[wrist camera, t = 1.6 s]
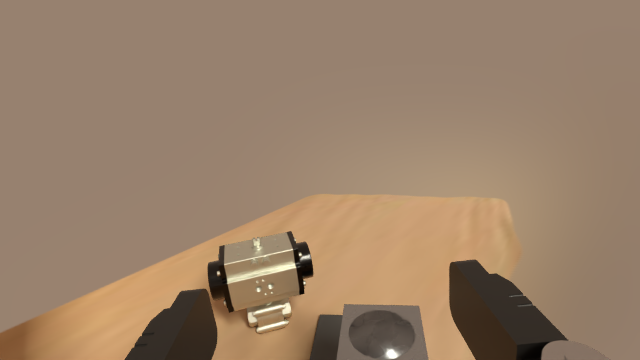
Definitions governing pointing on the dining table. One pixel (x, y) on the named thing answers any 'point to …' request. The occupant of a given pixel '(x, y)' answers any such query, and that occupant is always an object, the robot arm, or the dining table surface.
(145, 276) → the dining table surface
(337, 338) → the pad
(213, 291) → the pneumatic valve
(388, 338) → the grey column pedestal
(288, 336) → the dining table surface
